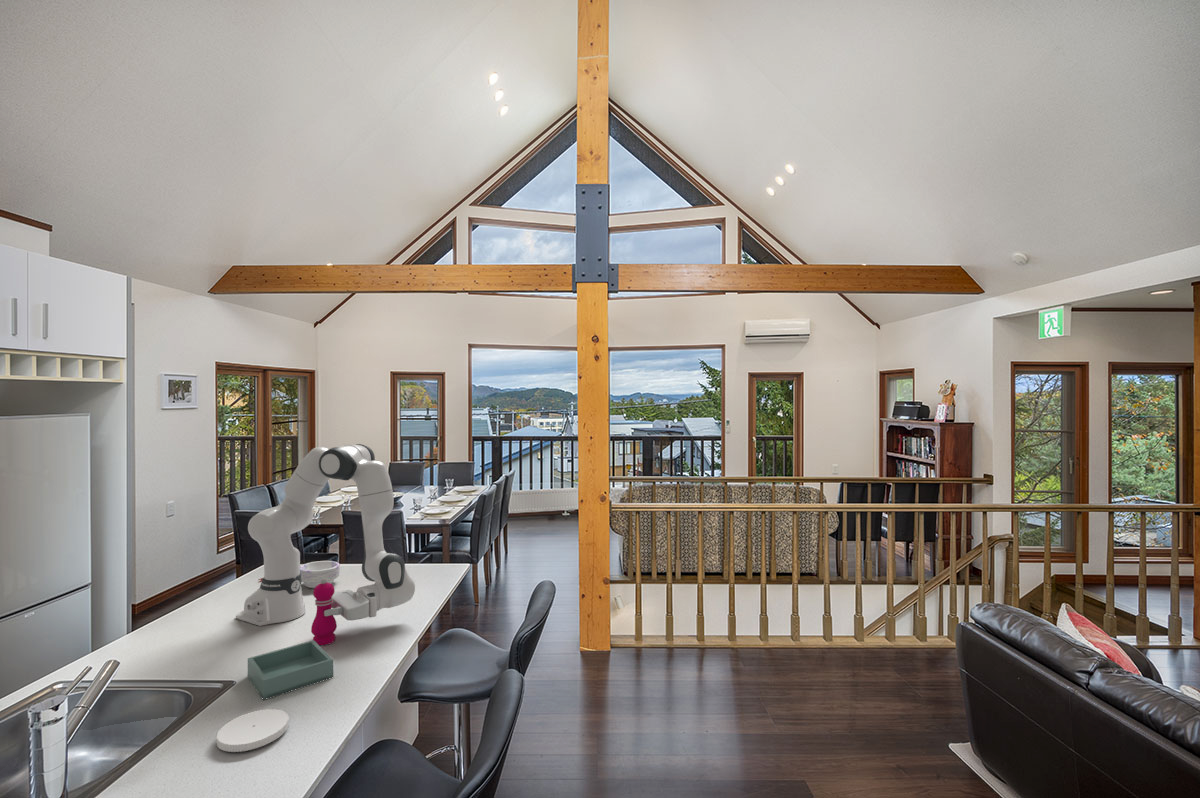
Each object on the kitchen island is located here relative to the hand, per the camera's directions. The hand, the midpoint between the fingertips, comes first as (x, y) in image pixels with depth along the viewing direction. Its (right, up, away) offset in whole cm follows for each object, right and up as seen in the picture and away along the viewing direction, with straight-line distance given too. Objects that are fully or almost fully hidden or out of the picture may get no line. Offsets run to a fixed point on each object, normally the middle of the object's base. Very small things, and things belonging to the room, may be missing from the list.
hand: (321, 610), depth 178 cm
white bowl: (-28, -10, +55) cm, 63 cm away
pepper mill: (+1, -10, +1) cm, 10 cm away
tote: (+2, -10, -22) cm, 24 cm away
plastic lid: (+9, -11, -49) cm, 51 cm away
